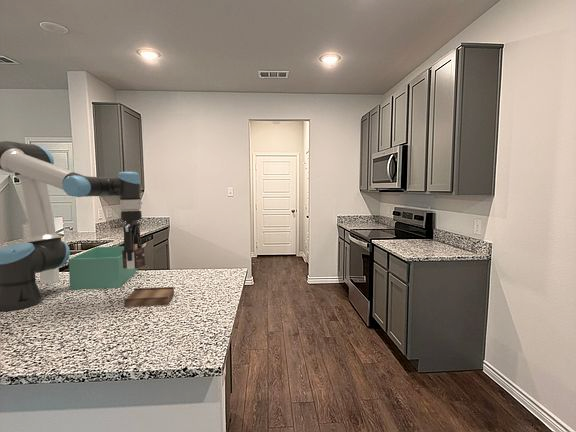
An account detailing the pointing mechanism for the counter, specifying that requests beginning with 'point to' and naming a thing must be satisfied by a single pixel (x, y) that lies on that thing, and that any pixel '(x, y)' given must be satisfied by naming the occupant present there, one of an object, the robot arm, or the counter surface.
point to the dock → (149, 297)
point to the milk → (49, 276)
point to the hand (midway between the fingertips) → (134, 266)
